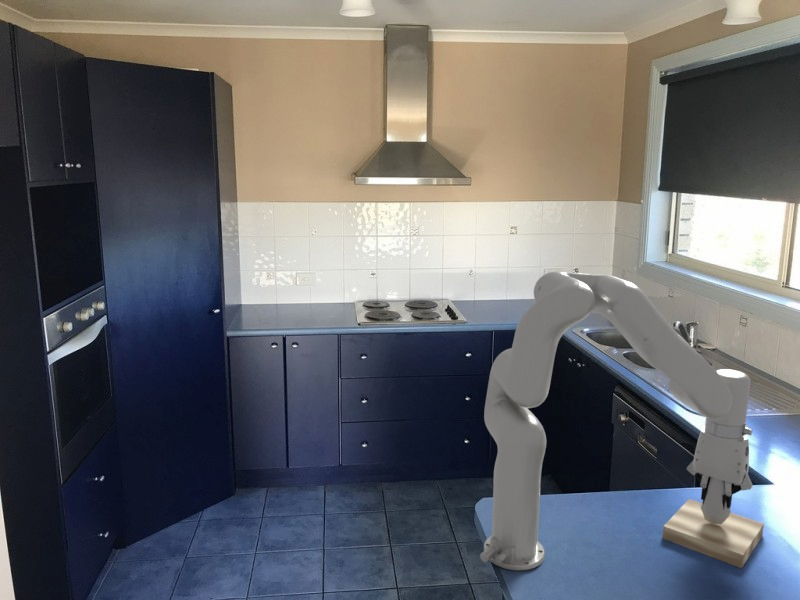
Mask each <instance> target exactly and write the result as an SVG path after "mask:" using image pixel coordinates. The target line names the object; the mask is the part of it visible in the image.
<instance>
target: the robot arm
mask: <svg viewBox="0 0 800 600" xmlns="http://www.w3.org/2000/svg"><path fill="white" fill-rule="evenodd" d="M533 299H534V301H535V302H534V303H533V304H532V305H531V306H530V307H529V308H528V309H527V310H525V312H524V313H523V315H521V317H520V319H519V321H518V322H517V325H516V329H515V331H514V336H513V342H512V345H511V347H510V348H507V349H505V350H503V351H502V352H500V353H499V354H498V355H497V356H496V358H495V359H494V361H493V363H492V366H491V369H490V373H489V379H488V384H487V391H486V397H485V402H484V404H485V405H484V412H483V413H484V415H483V418H484V419H483V420H484V424H485V426H486V429H487V431H488V432H489V435H491V437H492V438H493V440H494V441H495V443H496V446H497V454H496V459H495V462H494V469H493V483H492V484H493V491H492V492H493V493H492V520H491V522H492V523H491V535H490V536H489V537H487V538H486V539H485V541H484V544H483V552H481V553H480V555H479V557H480V560H481V561H482V562H483V563H488V561H490V562H491V563H492V564H494V565H495V566H497V567H499V568H503V569H506V570H510V571H529V570H532V569H534V568H536V567H538V566H540V565H541V564H542V563H543V562H544V560H545V553H546V552H545V548H544V547H543V545H542V544H541V542H539V541H538V539H539V538H538V537H539V522H540V521H539V520H540V519H539V517H540V504H541V503H540V502H541V501H540V498H541V479H542V478H541V477H542V469H543V462H544V457H545V454H546V448H547V436H546V432H545V429H544V426H543V425H542V423H541V422H540V421H539V419H538V417H536V416H535V414H534V413H533V412H532V411H531V410H529V409H532V408H537V407H539V406H540V405H542V403H544V402H545V401H546V399H547V397H548V395H549V390H550V386H551V382H552V381H551V380H552V375H553V369H554V363H555V357H556V353H557V348H558V344H559V342H560V340H561V338H562V337H563V335H564V334H565V332H567V331H568V330H569V329H570V328H572V327H573V326H575V325H576V324H578V323H580V322H583V321H584V320H585V319H587V317H589V315H590V314H591V313H592V314H598V315H601V316H602V317H604V318H606V319H607V320H608V321H609V322H610V323H611V324H612V326H614V328H615V329H616V330H617V331H618V332H619V333H620V335H622V337H623V338H624V339H625V340H626V341H627V343H628V344H629V345H630V346H631V348H632V349H633V350H634V351H635V353H636V354H637V355H638V356H639V357H640V358H642V360H644V361H645V362H646V363H647V364H648V365H650V366H651V367H653V369H655V370H657V371H658V372H660V373H661V374H662V375H664V376H665V377H666V378H668V383H667V388H668V391H669V392H670V394H671V395H672V397H673V398H675V399H676V400H678V402H680V403H682V404H683V405H686V407H689V408H690V409H692V410H693V411H695V412H697V413H698V414H700V415H701V416H702V417H705V424H704V426H702V428H701V430H700V433H699V436H698V439H697V443H696V446H695V452H694V456H693V459H692V461H691V462H690V463H689V464H688V466H687V467H686V470H687V471H688V472H689V473H690V474H691V475H692V476H694V477H695V479H696V480H697V482H698V483H699V486H700V488H701V493H700V494H701V496H700V500H701V501H703V504H704V501H705V498H706V495H707V491H708V489H707V488H708V484H709V480H710V477H712V478H715V479H719V480H722V481H725V495H723V496H722V498H723V500H722V503H723V509H724V507H725V502H726V505H727V508H730V509H731V506H732V499H733V495H735V494H736V493H739V492H740V491H748V490H749V491H750V490H751V489H752V488H753V487H754V485H753V482H752V480H751V478H750V476H749V466H750V464H749V463H750V441H749V437H748V436H752V434H753V429H752V428H750V427H748V425H747V413H748V405H749V398H750V397H749V396H750V388H751V379H750V377H749V375H748V374H747V373H744V372H743V371H739V370H736V369H730V368H729V369H728V368H723V369H722V368H721V369H716V370H715V368H714V367H713V366H712V365H711V364H710V363H709V362H708V361H707V360H706V359H705V358H704V357H703V356H702V355H701V354H700V353H699V352H698V351H697V350H695V349H694V347H692V346H691V344H689V343H688V342H687V340H685V338H683V337H682V335H680V333H678V332H677V331H676V330H675V329H674V328H673V327H672V325H671V324H670V323H669V322H668V321H667V319H666V318H665V317H664V316H663V314H662V313H661V312H660V311H659V310H658V309H657V307H656V306H655V304H653V302H652V301H651V299H650V298H648V296H647V295H646V294H645V293H644V292H643V290H642V289H641V288H640V287H639V286H637V284H634V283H633V282H631V281H629V280H625V279H622V278H620V277H617V276H614V275H610V274H609V275H608V274H595V273H583V272H582V273H581V272H567V271H550V272H548V273H545V274H543V275H542V276H540V277H539V278H538V280H537V281H536V282H535V285H534V288H533Z"/></svg>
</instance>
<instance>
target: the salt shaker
mask: <svg viewBox="0 0 800 600" xmlns="http://www.w3.org/2000/svg"><path fill="white" fill-rule="evenodd" d="M707 489H708V491H707V495H706V498H705V501H704V504H703V500H701V501H702V502H701V503H702V504H701V510H702V512H703V515H704V519H705V520H707V521H709V522H710V523H713V524H722V523H723V522H725V520H726V519H727V518H728V517H729V515H730V513H731V507H730V508H727V505H726V502H725V507H724V509H723V503H722V500H723V498H722V496H723V495H725V481H722V480H719V479H715V478H712V477H710V480H709V484H708V488H707Z"/></svg>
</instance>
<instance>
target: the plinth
mask: <svg viewBox="0 0 800 600" xmlns="http://www.w3.org/2000/svg"><path fill="white" fill-rule="evenodd" d="M701 504H702V502H699V501H698V500H694V499H692V498H689V499H687V501H686V502H685V503H684V504H683V505H681V507H680V508H679V509H678V510H677V511H676V512H675V513H674V514H673V515H672V516H671V518H670V519H669V520H667V522H666V523H664V525H663V527H662V539H663V540H665V541H668V542H670V543H671V542H672V543H674V544H677V545H678V546H679V545H680V546H682V547H684V548H687V549H689V550H692V551H695V552H698V553H699V554H702V555H706V556H708V557H711V558H713V559H716V560H719V561H721V562H722V563H723V562H724V563H726V564H728V565H731V566H735V567H737V568H739V569H742V568H743V567H744V565H745V563H746V562H747V560H748V559H749V558H750V556H751V555H752V553H753V551H754V550H755V549H756V547H757V545H758V544H759V542H760V540H761V539H762V537H763V536H764V535H763V534H764V528H765V523H763V522H760V521H758V520H754V519H751V518H748V517H746V516H742V515H739V514H737V513H736V514H735V513H734V512H730V515H729V517H728V518H727V519H726V520H725V522H723V523H722V524H713V523H710V522H709V521H707V520H705V519H704V515H703V512H702V510H701Z"/></svg>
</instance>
